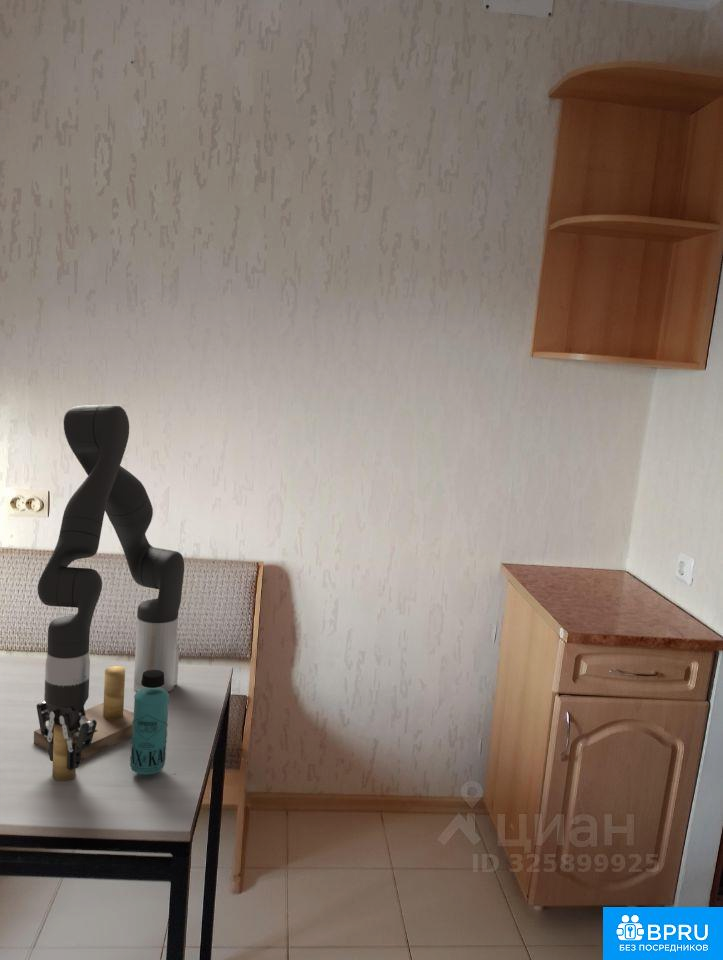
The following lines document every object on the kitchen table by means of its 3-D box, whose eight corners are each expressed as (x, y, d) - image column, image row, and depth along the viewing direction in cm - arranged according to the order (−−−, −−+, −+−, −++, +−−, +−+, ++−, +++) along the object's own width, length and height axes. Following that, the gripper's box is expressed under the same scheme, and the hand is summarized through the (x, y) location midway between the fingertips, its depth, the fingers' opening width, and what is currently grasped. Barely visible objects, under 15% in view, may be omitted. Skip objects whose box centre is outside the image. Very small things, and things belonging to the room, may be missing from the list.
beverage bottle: (127, 766, 150) (132, 666, 147) (163, 763, 152) (168, 664, 149) (130, 784, 144) (135, 680, 141) (167, 780, 146) (173, 678, 143)
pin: (65, 767, 148) (67, 716, 146) (80, 774, 146) (82, 723, 144) (47, 775, 144) (49, 724, 143) (62, 783, 142) (63, 731, 141)
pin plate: (106, 712, 171) (108, 657, 169) (145, 729, 165) (148, 672, 163) (33, 742, 156) (35, 682, 154) (74, 763, 150) (76, 700, 148)
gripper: (111, 680, 142) (107, 769, 144) (58, 659, 149) (56, 744, 152) (77, 693, 136) (73, 785, 138) (23, 670, 143) (21, 759, 145)
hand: (64, 763), depth 145 cm, fingers open, 4 cm apart
